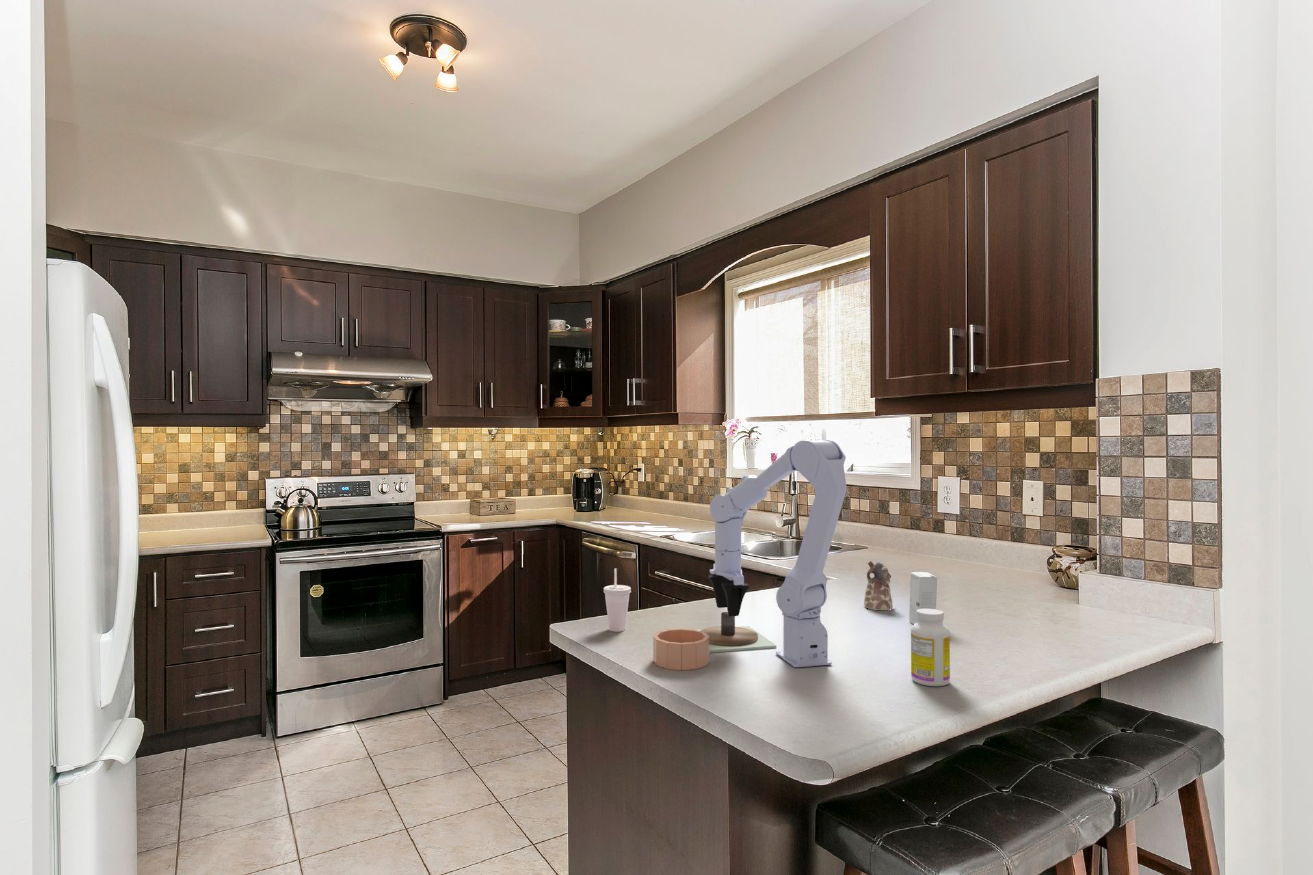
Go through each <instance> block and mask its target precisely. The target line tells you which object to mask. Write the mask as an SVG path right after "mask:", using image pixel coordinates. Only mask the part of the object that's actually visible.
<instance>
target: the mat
mask: <svg viewBox="0 0 1313 875" xmlns="http://www.w3.org/2000/svg"><path fill="white" fill-rule="evenodd" d="M740 627H741V628H746V629H750V630H752V631H755V632H756V633H757V634H758V640H757V641H756V642H755V643H752V644H749V645H743V646H718V645H712V644H709V654H710V653H724V652H739V651H750V650H763V649H764V650H765V649H766V650H767V649H777V644H775V643H774V642H772V641H771V640H770V639H768V638H767V637H765V636H764V635H762V634H761V633H759V632H758V631H757V630H755V629H754V628H753V627H751V626H749V625H747V626H746V625H745V626H740ZM702 629H703V628H700V629H699V628H698V629H695V630H698V631H700V630H702Z"/></svg>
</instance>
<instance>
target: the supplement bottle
mask: <svg viewBox="0 0 1313 875" xmlns="http://www.w3.org/2000/svg"><path fill="white" fill-rule="evenodd" d="M944 614H945V613H944V611H943V610H939V609H937V608H936V609H918V610H917V611H916V617H917V619H918V622H917V623H915V624H914V625H913V624H912V626H911V627H910V662H911V663H910V671H911V672H910V673H911V674H910V676H911V679H912V681H913V682H915V683H916V684H919V685H922V686H925V687H943V686H946V685H948V684H949V683H950V681H951V680H950V679H951V678H950V677H951V676H950V675H951V667H950V666H951V660H950V659H951V658H950V657H951V654H950V653H951V652H950V650H951V649H950V645H951V643H950V641H951V640H950V638H951V633H950V630H949V629H950V628H949V627H947V625H944V623H943V622H944V619H945V615H944Z"/></svg>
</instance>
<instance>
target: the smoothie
mask: <svg viewBox="0 0 1313 875" xmlns="http://www.w3.org/2000/svg"><path fill="white" fill-rule="evenodd" d="M613 572H614V575H613V576H614V578H613V579H614V580H613V582H614V583H613V584H611V585H607V586H604V587H603V593H604V596H605V597H604V598H605V606H606V613H607V614H606V615H607V623H608V630H609V632H614V633H615V632H616V633H617V632H618V633H620V632H624V631H626V627H627V618H628V610H629V609H628V608H629V601H630V593H632V588H631V586H629V585H624V584H617V583H618V575H617V572H618V568H614V570H613Z"/></svg>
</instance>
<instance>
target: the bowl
mask: <svg viewBox="0 0 1313 875" xmlns="http://www.w3.org/2000/svg"><path fill="white" fill-rule="evenodd" d="M652 639H653V640H652V646H653V648H652V654H653V655H652V661H653V663H654V662H655V663H654V664H655V666H657V665H658V666H657V667H661V668H663V667H664V668H663V669H666V670H674V671H689V670H691V669H692V670H698V669H701V668H704V667H707V665H708V664H709V663H710V653H709V635H708V634H706V633H705V632H702V631H698V630H696V629H693V628H692V629H690V628H670V629H663V630H659V631H657V632H655V633H654V635H653V637H652Z"/></svg>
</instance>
